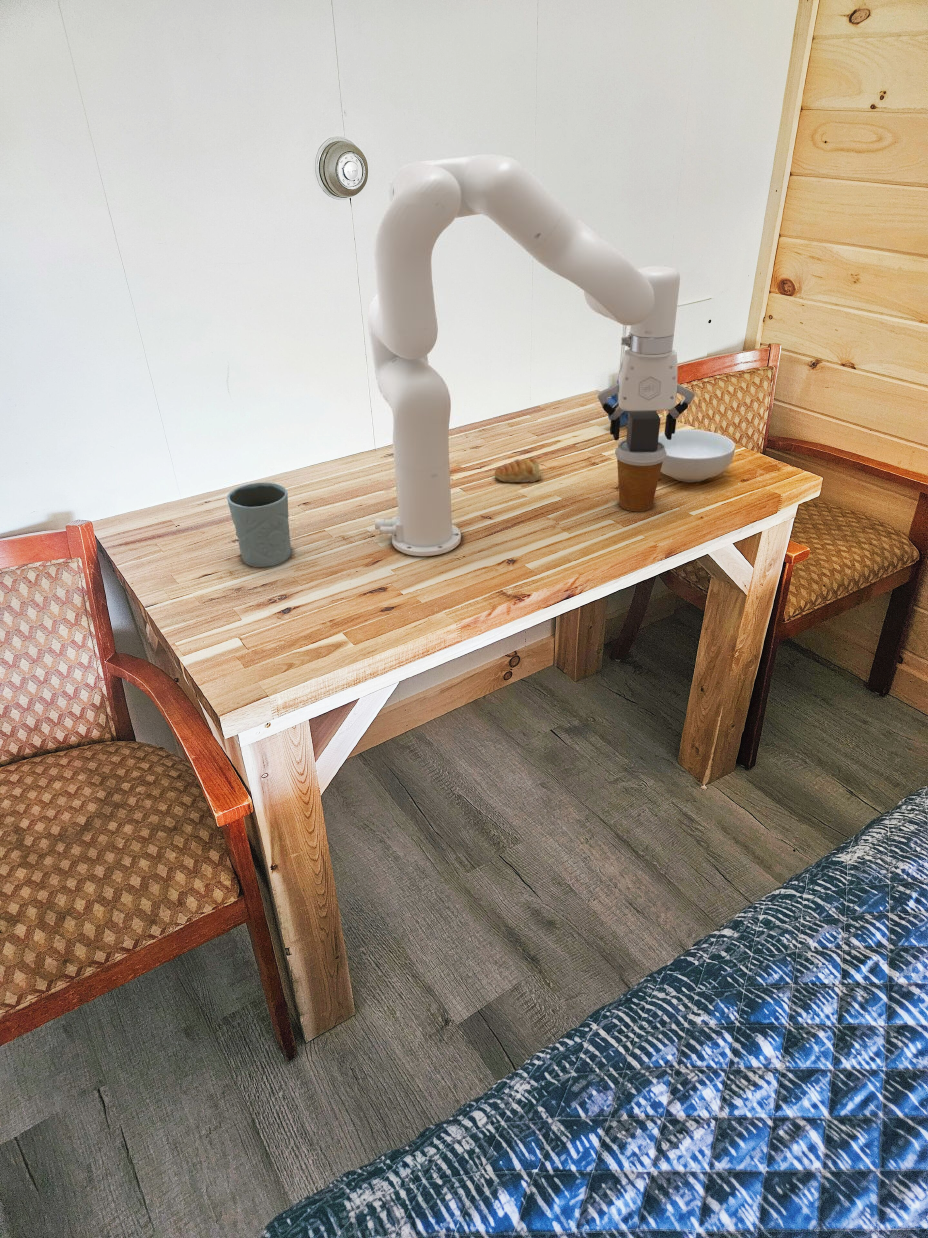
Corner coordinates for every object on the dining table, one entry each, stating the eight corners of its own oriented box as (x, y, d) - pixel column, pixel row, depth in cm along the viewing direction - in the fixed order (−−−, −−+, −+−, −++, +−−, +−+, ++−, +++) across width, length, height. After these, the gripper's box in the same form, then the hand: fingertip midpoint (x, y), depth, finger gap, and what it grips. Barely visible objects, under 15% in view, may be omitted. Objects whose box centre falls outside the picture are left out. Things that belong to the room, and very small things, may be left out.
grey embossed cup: (247, 542, 150) (235, 482, 144) (302, 542, 150) (292, 481, 144) (232, 570, 142) (219, 506, 135) (290, 569, 142) (280, 506, 135)
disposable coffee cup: (664, 514, 155) (671, 455, 149) (614, 515, 156) (619, 456, 149) (655, 493, 163) (662, 436, 157) (607, 494, 164) (612, 437, 157)
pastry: (499, 486, 169) (499, 469, 166) (491, 474, 174) (490, 457, 172) (542, 481, 170) (543, 463, 168) (533, 469, 176) (533, 452, 174)
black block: (630, 450, 151) (632, 419, 148) (626, 441, 155) (628, 410, 152) (657, 450, 151) (660, 418, 148) (652, 440, 155) (655, 409, 152)
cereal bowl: (701, 455, 180) (706, 423, 176) (746, 483, 166) (752, 450, 162) (632, 466, 175) (635, 434, 172) (672, 496, 162) (676, 463, 158)
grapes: (616, 436, 190) (620, 385, 184) (597, 428, 195) (600, 378, 189) (653, 426, 196) (658, 375, 189) (633, 418, 200) (637, 369, 194)
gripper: (603, 350, 140) (597, 445, 149) (705, 348, 139) (692, 444, 149) (598, 338, 146) (592, 431, 156) (696, 337, 146) (684, 429, 155)
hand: (641, 437), depth 152 cm, fingers open, 9 cm apart
